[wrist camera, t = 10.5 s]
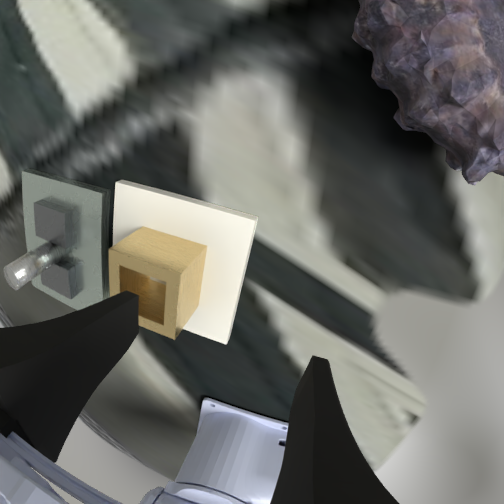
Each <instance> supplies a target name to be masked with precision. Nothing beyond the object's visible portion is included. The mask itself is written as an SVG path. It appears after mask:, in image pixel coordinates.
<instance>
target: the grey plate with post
mask: <svg viewBox="0 0 504 504" xmlns="http://www.w3.org/2000/svg"><path fill="white" fill-rule="evenodd" d="M110 191H111V190H109V189H105V188H101V187H98V186H94V185H90V184H87V183H83V182H79V181H76V180H72V179H68V178H64V177H61V176H57V175H53V174H49V173H45V172H42V171H38V170H34V169H27V170H24V171H22V193H23V212H24V225H25V235H26V244H27V253H26V254H25V255H23V256H21V257H20V258H18V259H16V260H15V261H13V262H11V263H10V264H8V265H7V266H5V267H4V276H5V279H6V281H7V283H8V284H9V286H10V287H11V288H12V289H14V290H18V289H19V288H21V287H22V286H23V285H25V284H26V283H28V282H29V281H31V280H32V285H33V286H34V287H36V288H38V289H39V290H41V291H43V292H45V293H46V294H48V295H50V296H52V297H54V298H55V299H57V300H59V301H61V302H63V303H65V304H67V305H68V306H70V307H72V308H74V309H76V310H80V309H83V308H86V307H88V306H90V305H93V304H95V303H98V302H100V301H102V300H105V299H107V298H109V297H110V293H109V211H110Z"/></svg>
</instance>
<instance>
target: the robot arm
mask: <svg viewBox="0 0 504 504" xmlns="http://www.w3.org/2000/svg"><path fill="white" fill-rule="evenodd" d="M138 333H139V295H137V294H134V293H132V292H129V291H127V290H126V291H124V292H121V293H119V294H116V295H114V296H111V297H109V298H107V299H105V300H102V301H100V302H98V303H95V304H93V305H90V306H88V307H86V308H83V309H80V310H78V311H75V312H72V313H70V314H67V315H64V316H61V317H58V318H55V319H51V320H47V321H43V322H39V323H34V324H28V325H23V326H16V327H7V328H0V504H69V503H67V502H66V501H65V500H64V499H63V498H62V497H61V496H60V495H59V494H57V493H56V492H55V491H54V490H53V489H52V487H51V486H50V485H49V483H48V482H47V481H46V480H45V479H43V478H42V477H41V476H40V475H39V474H41V475H42V476H44V477H45V478H46V479H48V480H49V481H50V482H52V483H53V484H55V485H56V486H58V487H59V488H61V489H62V490H64V491H65V492H67V493H68V494H70V495H71V496H73V497H74V498H76V499H78V500H79V501H81V502H82V503H84V504H122V503H120V502H118V501H116V500H114V499H112V498H110V497H108V496H107V495H105V494H103V493H101V492H100V491H98V490H96V489H94V488H93V487H91V486H89V485H87V484H86V483H84V482H83V481H81V480H79V479H78V478H76V477H75V476H73V475H71V474H70V473H68V472H67V471H65V470H64V469H62V468H61V467H59V466H58V465H56V464H55V462H56V461H57V459H58V456H59V453H60V452H61V449H62V447H63V445H64V442H65V440H66V438H67V436H68V435H69V432H70V431H71V429H72V427H73V425H74V423H75V421H76V419H77V418H78V416H79V414H80V413H81V411H82V409H83V407H84V406H85V404H86V403H87V401H88V399H89V398H90V396H91V395H92V393H93V392H94V390H95V389H96V388H97V386H98V385H99V384H100V383H101V381H102V380H103V379H104V378H105V377H106V375H107V374H108V373H109V372H110V371H111V370H112V368H113V367H114V366H115V365H116V364H117V362H118V361H119V360H120V359H121V358H122V356H123V355H124V354H125V353H126V352H127V350H128V349H129V347H130V346H131V344H132V342H133V341H134V339H135V338H136V336H137V334H138ZM31 467H32V468H33V469H34V470H35V471H37V472H38V473H39V474H37V473H36V472H35V471H34V470H33V469H32V468H31ZM139 504H399V503H398V502H397V501H396V500H395V499H394V497H393V496H392V495H391V494H390V493H389V492H388V491H387V489H386V488H385V487H384V486H383V484H382V483H381V482H380V481H379V479H378V478H377V476H376V475H375V474H374V472H373V470H372V469H371V467H370V466H369V464H368V463H367V461H366V459H365V458H364V456H363V454H362V453H361V451H360V449H359V447H358V445H357V443H356V441H355V439H354V437H353V435H352V433H351V430H350V428H349V426H348V423H347V421H346V418H345V415H344V413H343V410H342V407H341V404H340V401H339V398H338V395H337V391H336V388H335V384H334V381H333V377H332V373H331V368H330V364H329V361H328V360H327V359H324V358H320V357H317V356H312V358H311V360H310V362H309V364H308V366H307V368H306V370H305V372H304V374H303V376H302V378H301V380H300V382H299V384H298V386H297V388H296V392H295V396H294V399H293V403H292V407H291V411H290V417H289V423H286V422H282V421H279V420H275V419H272V418H268V417H265V416H262V415H258V414H255V413H252V412H249V411H245V410H242V409H239V408H236V407H233V406H230V405H227V404H225V403H222V402H219V401H216V400H213V399H211V398H204V400H203V402H202V408H201V413H200V418H199V424H198V429H197V435H196V437H195V439H194V441H193V443H192V446H191V448H190V450H189V452H188V454H187V456H186V458H185V460H184V462H183V465H182V467H181V469H180V471H179V473H178V475H177V477H176V479H175V481H174V482H172V481H168V484H167V485H166V487H165V488H163V487H157V488H155V489H153V490H150V491H149V492H148V493H147V494H146V495H145V496H144V497H143V499H142V500H141V502H140V503H139Z"/></svg>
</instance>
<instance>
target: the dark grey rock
mask: <svg viewBox="0 0 504 504" xmlns="http://www.w3.org/2000/svg"><path fill="white" fill-rule="evenodd" d="M359 3H360V9H359V12H358V15H357V18H356V20H355V23H354V32H353V35H352V38H353V39H354V40H355V41H356V42H357V43H358V44H359V45H361V46H362V47H363V48H365V49H367V50H370V51H372V52H373V57H374V61H373V66H372V75H371V77H372V78H373V80H374V81H375V82H376V84H377V85H378V86H379V87H380V88H383V89H388V90H391V91H392V92H393V93H394V94H395V96H396V97H397V98H398V102H399V108H398V110H397V111H396V113H395V115H394V119H395V120H396V122H397V123H398V124H399V125H400V126H401V128H402V129H404V130H406V131H419V132H425V133H427V134H428V135H429V136H430V137H431V138H432V140H433V141H434V142H435V143H437V144H439V145H440V146H442V147H444V148H446V162H447V163H448V164H449V166H450V167H451V168H453V169H454V170H456V171H462V175H463V177H464V178H465V180H466V181H467V182H468V184H472V185H476V183H477V182H478V181H481V180H482V179H483V178H484V177H485V176H486V174H487V173H489V172H492V171H493V172H494V173H496V174H499V175H502V176H504V0H359Z"/></svg>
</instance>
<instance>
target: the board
mask: <svg viewBox="0 0 504 504" xmlns="http://www.w3.org/2000/svg"><path fill="white" fill-rule="evenodd" d="M257 221H258V217H257V216H254V215H251V214H247V213H244V212H240V211H237V210H233V209H230V208H226V207H223V206H219V205H216V204H212V203H208V202H205V201H201V200H198V199H194V198H190V197H187V196H183V195H179V194H176V193H172V192H168V191H164V190H161V189H157V188H153V187H149V186H145V185H141V184H138V183H134V182H130V181H126V180H120V181H117V182H116V184H115V200H114V220H113V246H114V245H115V244H117V243H118V242H120V241H121V240H123V239H124V238H126V237H127V236H129V235H130V234H132V233H133V232H135V231H136V230H138V229H140V228H141V227H143V226H144V227H147V228H150V229H154V230H157V231H160V232H164V233H167V234H170V235H173V236H177V237H180V238H183V239H186V240H190V241H193V242H196V243H200V244H203V245H206V246H207V252H206V258H205V265H204V271H203V278H202V285H201V292H200V299H199V306H198V307H197V309H196V310H195V312H194V313H193V314H192V316H191V317H190V319H189V320H188V322H187V323H186V324H185V326H184V327H183V329H185V330H188V331H190V332H193V333H196V334H198V335H201V336H204V337H206V338H209V339H212V340H215V341H218V342H220V343H223V344H227V342H228V340H229V338H230V334H231V330H232V326H233V321H234V317H235V313H236V309H237V305H238V301H239V296H240V292H241V288H242V284H243V280H244V275H245V271H246V267H247V263H248V259H249V254H250V250H251V246H252V242H253V238H254V234H255V229H256V225H257ZM150 279H151V280H154V281H156V282H159V283H162V284H165V285H166V282H165V281H162V280H159V279H156V278H153V277H151V276H150Z"/></svg>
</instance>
